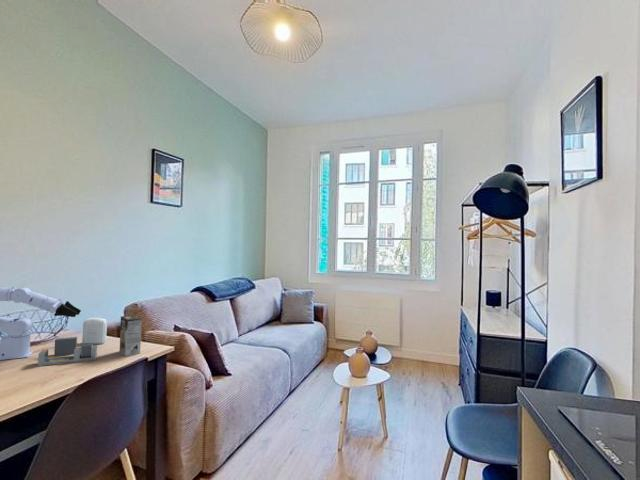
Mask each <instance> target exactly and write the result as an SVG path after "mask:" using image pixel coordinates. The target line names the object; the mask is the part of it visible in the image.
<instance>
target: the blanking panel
mask: <svg viewBox="0 0 640 480" xmlns="http://www.w3.org/2000/svg"><path fill="white" fill-rule="evenodd" d="M77 346H78V336H70V337H69V336H68V337H56V338H54V351H53V352H54V357H56V356H58V357H60V356H65V355H66V356H68V355H69V356H70V355H74V350H75V348H76V347H77Z"/></svg>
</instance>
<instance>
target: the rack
mask: <svg viewBox="0 0 640 480" xmlns="http://www.w3.org/2000/svg"><path fill="white" fill-rule="evenodd" d="M97 356H98V344H83V343H82V344H81V346H79V345H77V347H76V348H75V350H74V354H73V355H69V356H68V355H66V356H58V357H49V348H45V349H41V350H40V352H38V357H37V358H38V359H37V361H38V362H37V366H38V367H45V366H53V365H62V364H63V365H64V364H70V363H71V364H72V363H80V362H87V361H89V362H90V361H95V360H96V359H97Z"/></svg>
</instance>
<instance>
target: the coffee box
mask: <svg viewBox="0 0 640 480" xmlns="http://www.w3.org/2000/svg"><path fill="white" fill-rule="evenodd" d="M142 321H143V320H142V317H140V316H138V315H136V314H133V315H123V316H120V325H119V326H120V328H119V329H120V330H119V331H120V332H119V352H120V353H121V354H122V355H124V356H125V357H128V356H133V355H138V354H137V353H139V354H140V353H141V345H142V344H141V342H142V325H143V324H142V323H143V322H142Z"/></svg>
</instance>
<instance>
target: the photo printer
mask: <svg viewBox="0 0 640 480" xmlns="http://www.w3.org/2000/svg"><path fill="white" fill-rule="evenodd" d="M107 327H108V320H107V319H105V318H103V317H102V318H101V317H89V318H87V319H85V320H84V321H83V323H82V339H81V343H82V345H83V344H92V345H99V344H100V345H101V344H103V345H104V344H106V342H107V330H108V329H107Z"/></svg>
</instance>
